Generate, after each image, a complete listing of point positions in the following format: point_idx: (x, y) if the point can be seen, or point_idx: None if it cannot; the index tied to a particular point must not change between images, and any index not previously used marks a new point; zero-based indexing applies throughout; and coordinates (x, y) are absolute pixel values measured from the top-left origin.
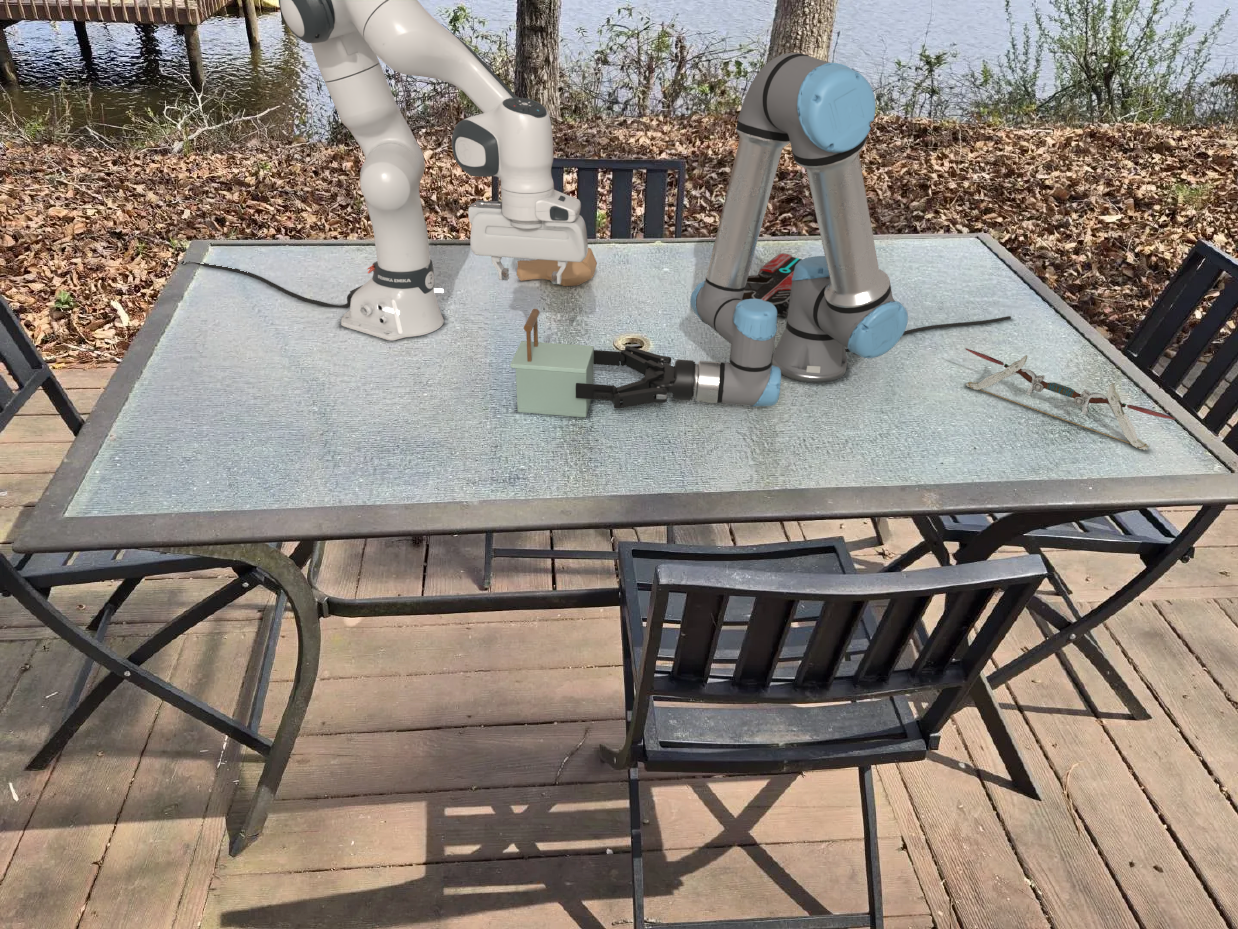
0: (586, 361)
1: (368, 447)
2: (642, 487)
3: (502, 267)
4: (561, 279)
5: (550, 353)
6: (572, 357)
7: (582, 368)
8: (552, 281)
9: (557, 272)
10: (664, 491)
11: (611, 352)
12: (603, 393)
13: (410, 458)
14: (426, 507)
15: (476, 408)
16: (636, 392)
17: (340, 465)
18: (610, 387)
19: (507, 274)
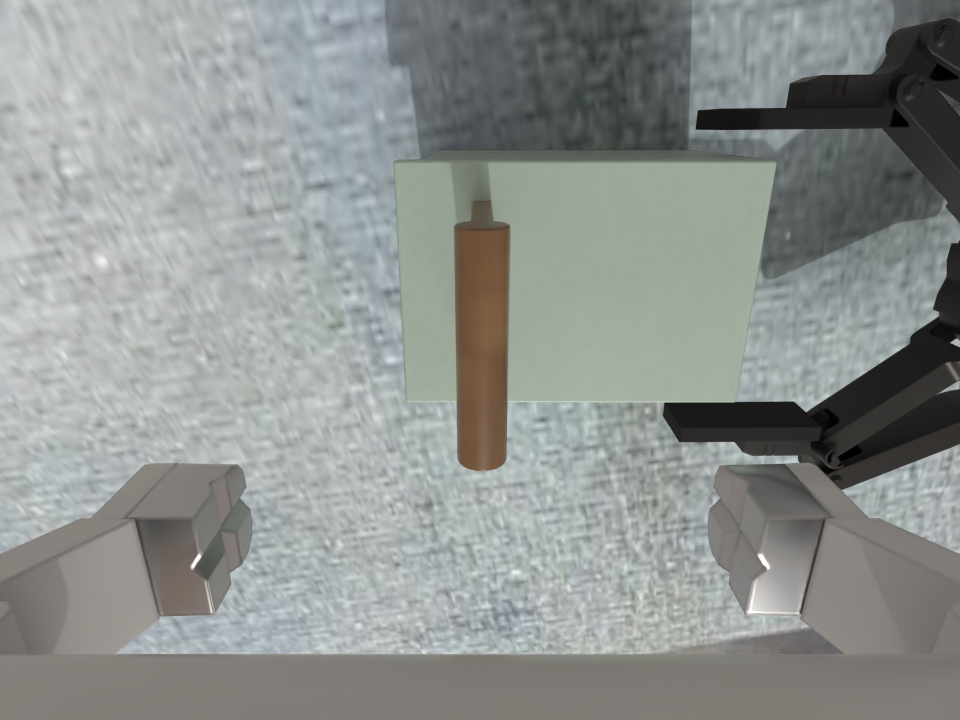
0: (737, 333)
1: None
2: None
3: (123, 574)
4: (815, 465)
5: (564, 280)
6: (671, 305)
7: (719, 396)
8: (725, 563)
9: (826, 594)
10: None
11: (848, 123)
12: (778, 454)
13: (233, 577)
14: None
15: (305, 324)
16: (908, 454)
17: None
18: (813, 440)
19: (218, 514)
